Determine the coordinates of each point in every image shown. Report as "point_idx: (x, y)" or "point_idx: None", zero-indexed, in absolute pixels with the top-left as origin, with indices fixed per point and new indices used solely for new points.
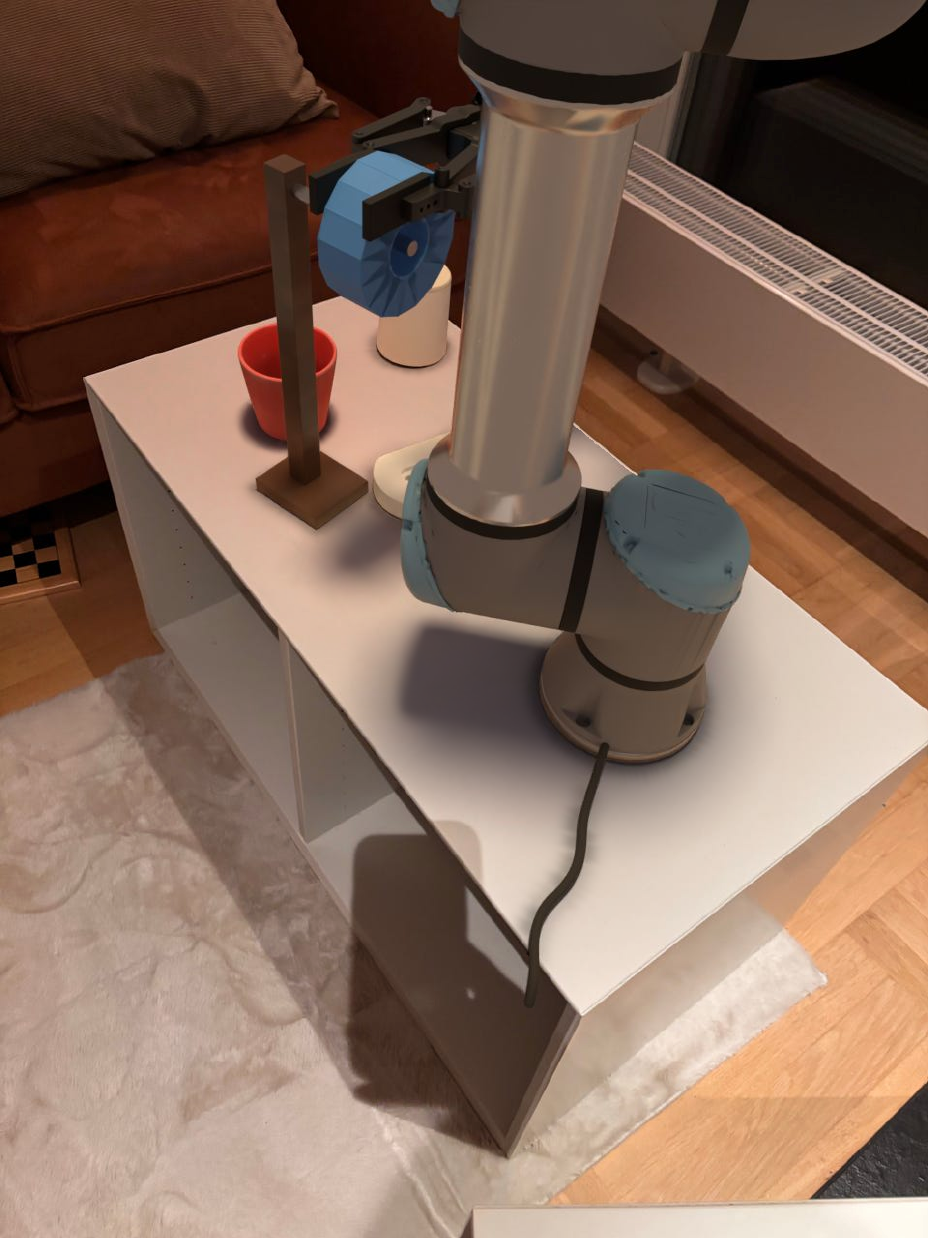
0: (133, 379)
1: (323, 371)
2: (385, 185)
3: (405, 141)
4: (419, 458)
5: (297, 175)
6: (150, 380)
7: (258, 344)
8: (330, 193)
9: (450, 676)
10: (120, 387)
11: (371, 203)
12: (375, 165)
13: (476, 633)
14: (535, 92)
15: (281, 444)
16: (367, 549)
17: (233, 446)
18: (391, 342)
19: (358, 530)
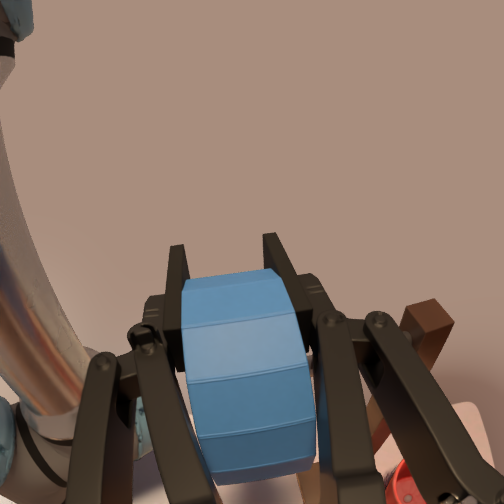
0: (474, 417)
1: (396, 498)
2: (201, 284)
3: (324, 383)
4: None
5: (414, 329)
6: (472, 425)
7: None
8: None
9: (146, 456)
10: (469, 409)
11: (171, 248)
12: (247, 286)
13: (155, 487)
14: None
15: (386, 484)
16: (257, 486)
17: (397, 456)
18: None
19: (277, 491)
